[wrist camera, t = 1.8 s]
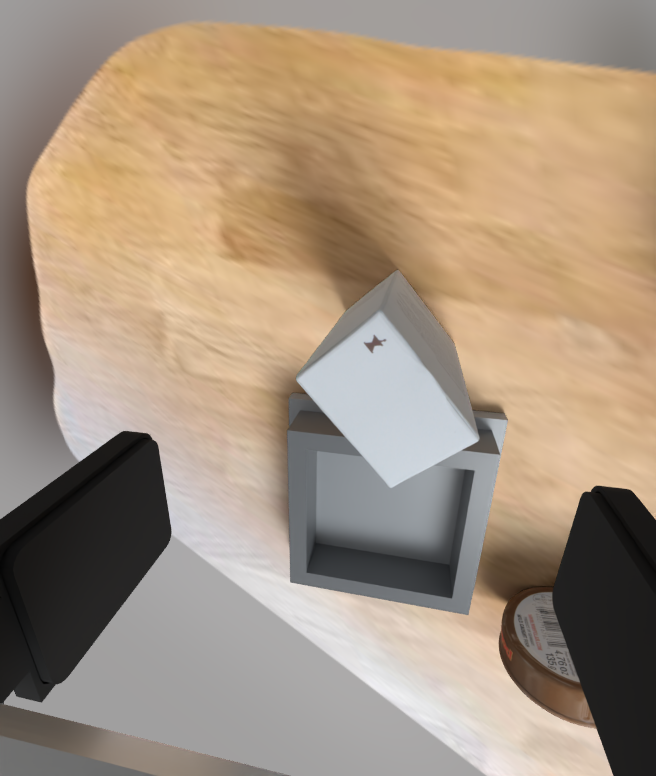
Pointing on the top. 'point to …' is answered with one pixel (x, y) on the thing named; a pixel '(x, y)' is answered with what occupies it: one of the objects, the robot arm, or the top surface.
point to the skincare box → (392, 383)
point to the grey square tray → (387, 515)
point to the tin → (541, 656)
